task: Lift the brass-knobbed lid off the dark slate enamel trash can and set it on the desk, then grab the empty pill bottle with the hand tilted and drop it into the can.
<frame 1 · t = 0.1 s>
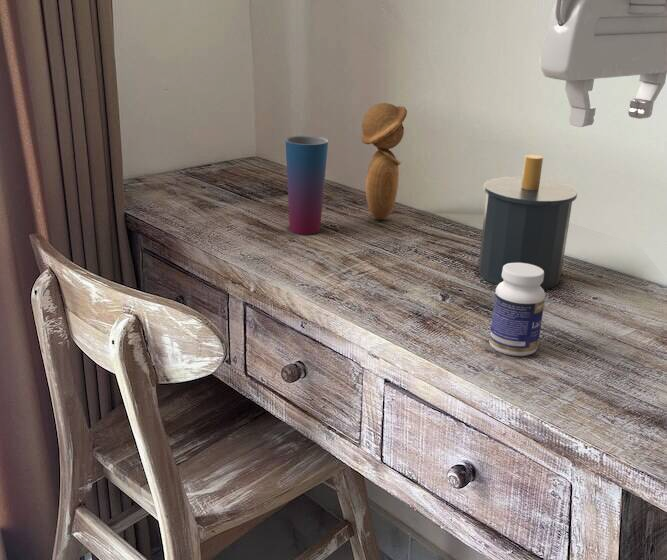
hand: (610, 121, 81), 28 cm above the table, tool pointing down, fingers open, 8 cm apart
pill bottle: (512, 348, 97), on the table
can lid: (529, 192, 114), point 12 cm above the table, touching can
cup: (304, 230, 134), on the table
figurine: (378, 220, 141), on the table
can: (518, 274, 119), on the table
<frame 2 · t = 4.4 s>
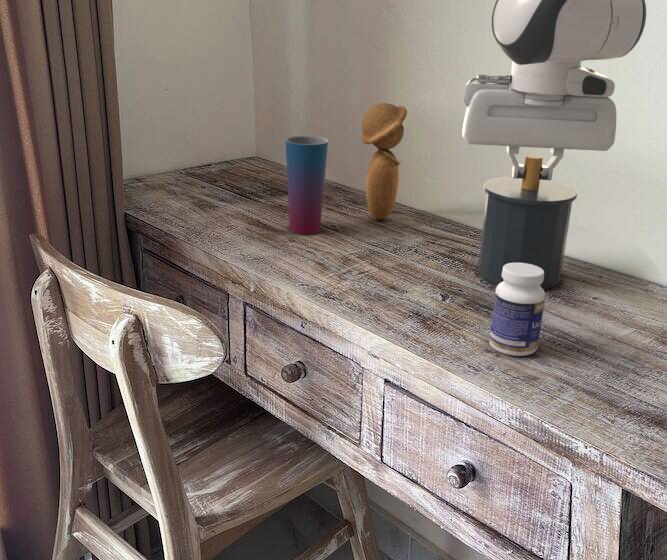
hand: (531, 178, 113), 15 cm above the table, tool pointing down, fingers closed on can lid, 2 cm apart
can lid: (529, 192, 114), point 13 cm above the table, touching can, gripper
everything else where it was.
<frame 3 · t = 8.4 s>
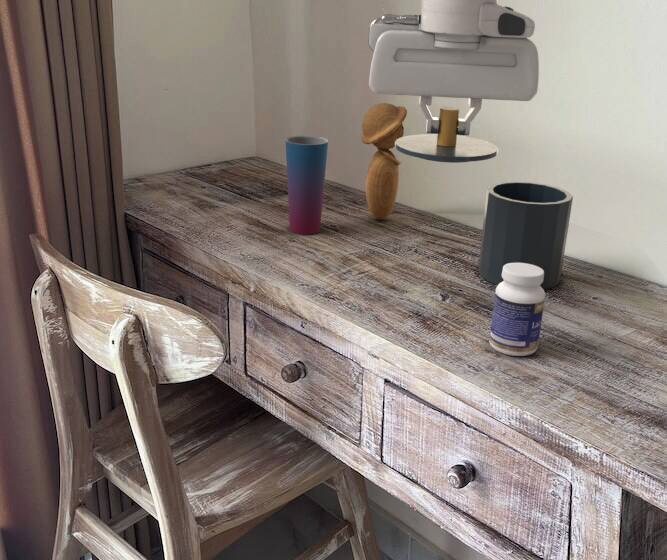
hand: (447, 133, 101), 22 cm above the table, tool pointing down, fingers closed on can lid, 2 cm apart
can lid: (445, 149, 102), point 20 cm above the table, touching gripper
everything else where it was.
when the fingers open (3 cm above the table, at t = 12.8 s): can lid stays where it is, point 1 cm above the table.
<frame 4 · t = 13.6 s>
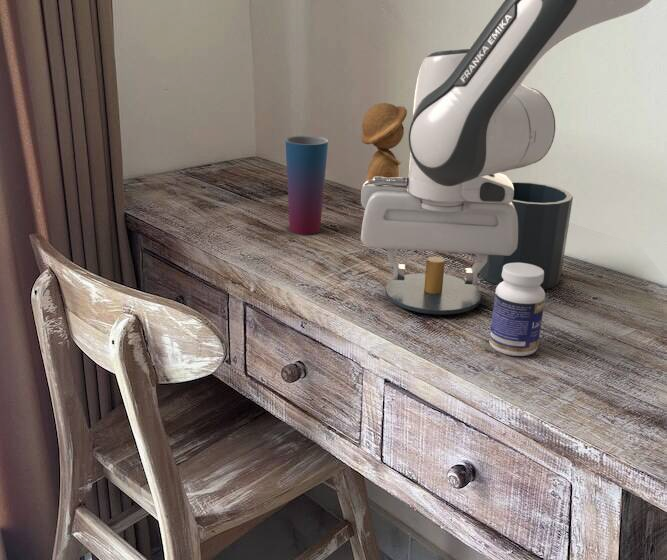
hand: (434, 280, 108), 3 cm above the table, tool pointing down, fingers open, 8 cm apart
can lid: (432, 294, 109), point 1 cm above the table
everything else where it was.
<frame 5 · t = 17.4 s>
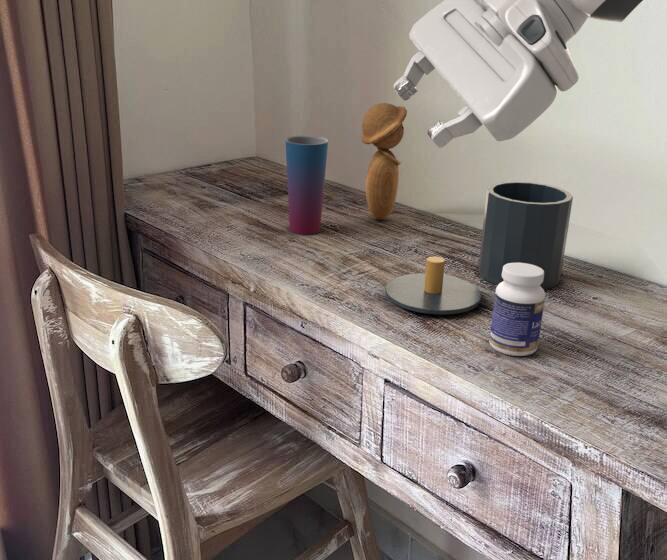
hand: (415, 116, 84), 27 cm above the table, tool tilted 45°, fingers open, 8 cm apart
nothing on the table moved.
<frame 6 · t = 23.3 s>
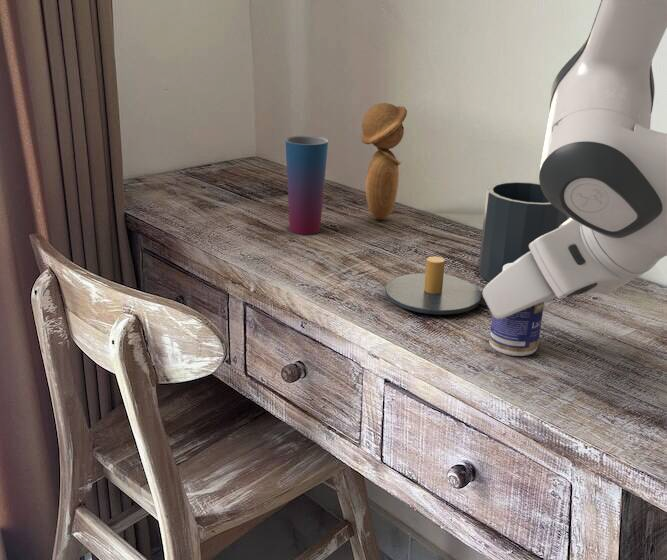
hand: (513, 303, 95), 5 cm above the table, tool tilted 45°, fingers closed on pill bottle, 6 cm apart
pill bottle: (512, 348, 97), on the table, touching gripper
everything else where it was.
when the fingers open (16 cm above the table, at t = 32.7 s): pill bottle drops 10 cm, resting on can.
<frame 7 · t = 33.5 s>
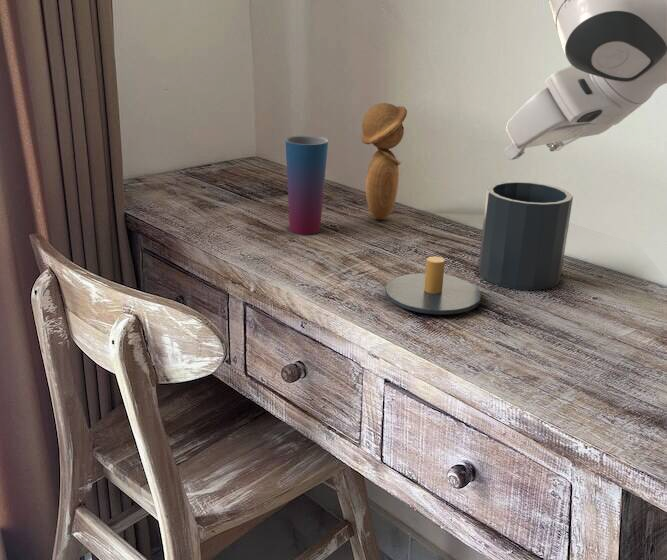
hand: (530, 151, 112), 18 cm above the table, tool tilted 45°, fingers open, 8 cm apart
pill bottle: (519, 273, 119), resting on can
everything else where it was.
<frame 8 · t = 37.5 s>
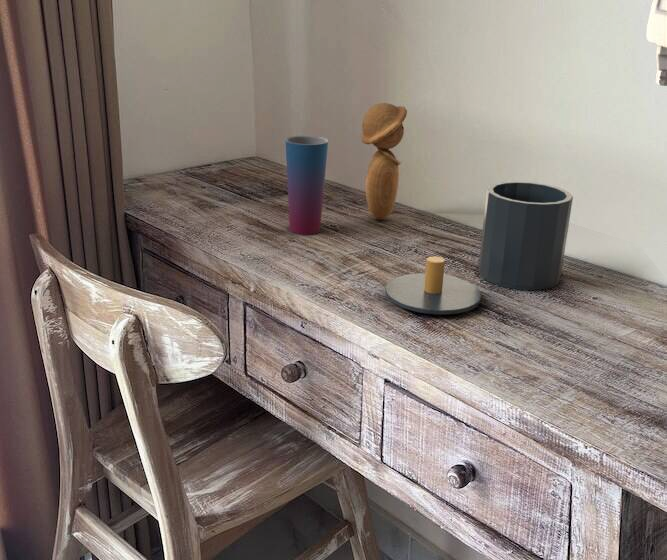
nothing on the table moved.
at the end: pill bottle inside the target area in the can (0.1 cm from its centre), point 0.3 cm above the can's base; can lid inside the target area (0.1 cm from its centre), point 0.6 cm above the table; the gripper is holding nothing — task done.
